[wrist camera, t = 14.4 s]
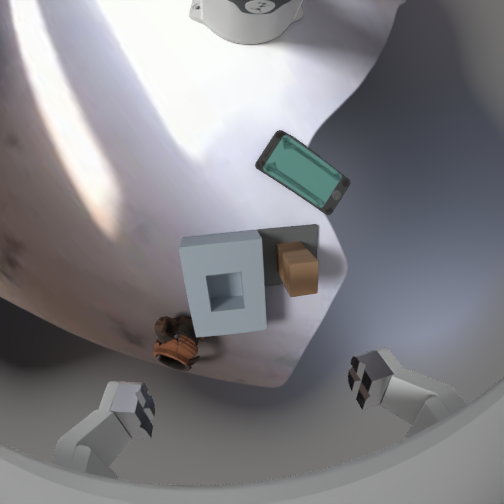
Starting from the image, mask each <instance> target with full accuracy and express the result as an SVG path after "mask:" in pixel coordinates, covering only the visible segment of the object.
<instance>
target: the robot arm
mask: <svg viewBox="0 0 504 504" xmlns="http://www.w3.org/2000/svg"><path fill="white" fill-rule="evenodd" d="M302 2H303V0H193V1H192V4H191V8H190V12H189V17H190V18H191V19H192V20H195V21H197V22H200V23H203V24H205V25H206V26H207V27H208V28H209V29H210V30H211V31H212V32H213V33H215V34H216V35H218V36H219V37H221V38H223V39H225V40H228V41H231V42H235V43H240V44H259V43H264V42H267V41H270V40H273V39H275V38H277V37H278V36H280V35H281V34H282V33H283V32H284V31H285V30H286V29H287V27H288V26H289V25H290V24H291V23H293V22H295V21H298V20H299V19H301V18H302V17H303V15H304V12H303V9H302V7H301V4H302ZM196 8H200V9H196ZM351 365H352V368H351V369H350V370H349V372H348V383H349V386H350V389H351V391H352V392H354V393H356V394H357V398H356V400H357V402H358V403H359V405H360V407H361V409H362V410H365V409H368V408H371V407H374V406H377V405H380V406H382V407H383V408H385V409H387V410H388V411H390V412H392V413H393V414H395V415H396V416H398V417H400V418H401V419H403V420H405V421H407V422H408V423H410V424H412V426H411V427H410V429H409V431H408V432H407V434H406V437H407V438H406V439H404V440H402V441H400V442H398V443H395V444H393V445H390V446H388V447H386V448H383V449H381V450H378V451H376V452H373V453H371V454H368V455H365V456H362V457H360V458H357V459H354V460H351V461H348V462H345V463H341V464H338V465H335V466H331V467H328V468H324V469H320V470H316V471H312V472H308V473H303V474H299V475H295V476H289V477H284V478H278V479H272V480H265V481H258V482H249V483H239V484H226V485H200V486H198V485H197V486H196V485H195V486H194V485H189V486H188V485H164V484H152V483H142V482H133V481H126V480H120V479H118V476H117V474H116V473H114V471H112V470H111V469H110V468H109V466H110V465H111V464H112V462H113V461H114V460H115V459H116V458H117V456H118V455H119V454H120V453H121V452H122V451H123V449H124V448H125V447H126V445H128V443H129V442H130V441H131V440H132V438H140V439H151V437H152V430H153V425H152V423H151V420H152V419H153V418H154V416H155V404H154V401H153V398H152V396H150V395H149V394H148V393H147V392H148V388H147V386H146V384H145V383H138V382H115V381H110V382H109V383H108V384H107V387H106V389H105V392H104V395H103V398H102V401H101V404H100V407H99V410H95V411H93V412H92V413H91V414H90V415H88V416H87V417H86V418H85V419H83V420H82V421H81V422H80V423H78V424H77V425H76V426H75V427H74V428H72V429H71V430H70V431H68V432H67V433H66V434H65V435H63V436H62V437H61V438H60V439H59V440H58V443H57V446H56V449H55V451H54V454H53V458H52V461H51V462H48V461H45V460H42V459H40V458H37V457H34V456H32V455H29V454H26V453H24V452H22V451H19V450H17V449H15V448H13V447H10V446H8V445H6V444H4V443H2V442H0V504H504V377H503V378H502V379H501V380H499V381H498V382H497V383H495V384H494V385H493V386H492V387H490V388H489V389H488V390H486V391H485V392H484V393H482V394H481V395H479V396H478V397H477V398H475V399H474V400H472V401H471V402H469V403H468V404H466V403H465V402H464V400H463V399H462V398H461V397H460V396H459V394H458V393H457V392H456V391H455V390H454V388H453V387H452V386H450V385H447V384H444V383H441V382H439V381H436V380H434V379H431V378H429V377H426V376H423V375H421V374H418V373H416V372H413V371H411V370H405V369H404V368H403V367H402V366H401V364H400V363H399V362H398V361H397V359H396V358H395V357H394V356H393V354H391V352H390V351H389V350H388V349H387V348H386V347H383V348H380V349H377V350H374V351H370V352H367V353H363V354H359V355H355V356H353V357H352V359H351Z"/></svg>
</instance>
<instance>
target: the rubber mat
mask: <svg viewBox="0 0 504 504" xmlns="http://www.w3.org/2000/svg"><path fill="white" fill-rule="evenodd" d="M257 231H258V233H259V234H260V236H261V238H262V250H263V268H264V286H272V285H280V284H284V283H283V281H282V279H281V277H280V276H279V274H278V272H277V248H276V244H278V243H287V242H297V241H300V242H301V243H302V244H303V245H304V246H305V247H306V248H307V249H308V250H309V251H310V253H311V254H312V255H313V256H314V257H315V258H316V259H317V225H316V224H313V225H302V226H291V227H280V228H269V229H259V230H257Z"/></svg>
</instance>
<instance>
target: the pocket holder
mask: <svg viewBox="0 0 504 504" xmlns="http://www.w3.org/2000/svg"><path fill="white" fill-rule="evenodd" d="M179 253H180V259H181V264H182V270H183V276H184V281H185V287H186V292H187V297H188V302H189V307H190V312H191V317H192V321H193V326H194V330H195V335H196V337H207V336H217V335H227V334H236V333H244V332H252V331H260V330H267V324H266V305H265V286H264V268H263V250H262V238H261V236H260V234H259V233H258V231H257V230H249V231H239V232H229V233H220V234H210V235H201V236H192V237H183V238H182V240H181V243H180V246H179Z"/></svg>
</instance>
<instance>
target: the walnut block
mask: <svg viewBox="0 0 504 504" xmlns="http://www.w3.org/2000/svg"><path fill="white" fill-rule="evenodd" d="M276 248H277V272H278V274H279V276H280V277H281V279H282V281H283V283H284V285H285V287H286V289H287V291H288V293H289V295H290V297H296V296H302V295H309V294H315V293H317V291H318V260H317V259H316V258H315V257H314V256H313V255H312V254H311V253H310V251H309V250H308V249H307V248H306V247H305V246H304V245H303V244H302V243H301V242H300V241H297V242H287V243H278V244H276Z"/></svg>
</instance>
